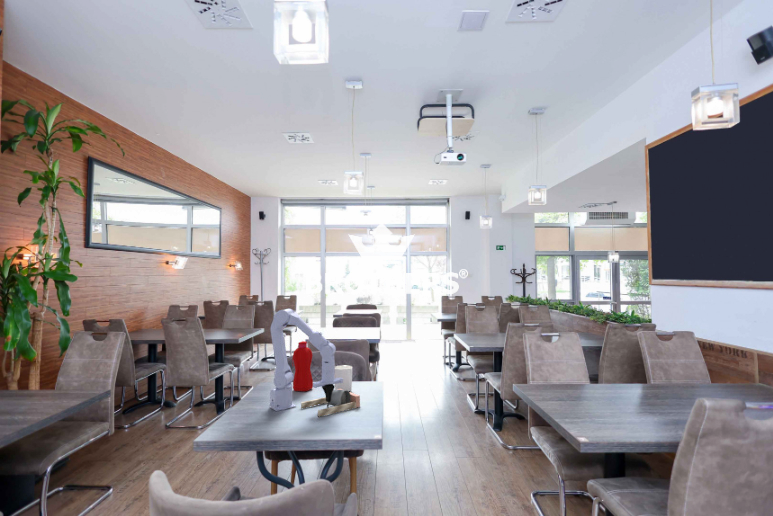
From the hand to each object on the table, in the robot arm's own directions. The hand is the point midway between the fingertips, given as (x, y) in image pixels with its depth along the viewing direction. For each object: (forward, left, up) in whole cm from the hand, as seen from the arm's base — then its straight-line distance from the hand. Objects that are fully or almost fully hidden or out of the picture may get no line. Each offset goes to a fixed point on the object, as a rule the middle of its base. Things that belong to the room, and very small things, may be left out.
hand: (328, 401), depth 190 cm
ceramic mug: (+4, -2, -3) cm, 5 cm away
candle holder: (+21, +20, -3) cm, 29 cm away
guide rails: (0, 0, -3) cm, 3 cm away
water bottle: (+6, +37, -3) cm, 37 cm away
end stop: (+10, 0, -3) cm, 11 cm away
